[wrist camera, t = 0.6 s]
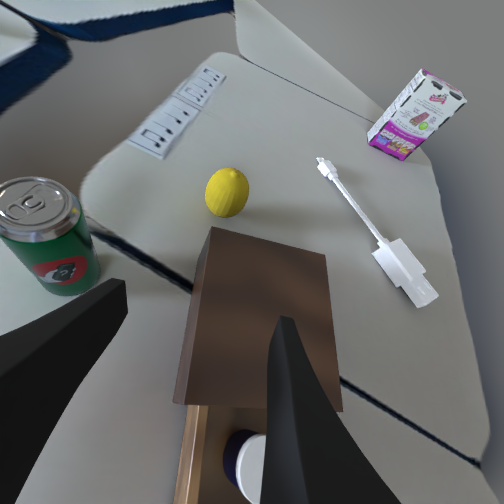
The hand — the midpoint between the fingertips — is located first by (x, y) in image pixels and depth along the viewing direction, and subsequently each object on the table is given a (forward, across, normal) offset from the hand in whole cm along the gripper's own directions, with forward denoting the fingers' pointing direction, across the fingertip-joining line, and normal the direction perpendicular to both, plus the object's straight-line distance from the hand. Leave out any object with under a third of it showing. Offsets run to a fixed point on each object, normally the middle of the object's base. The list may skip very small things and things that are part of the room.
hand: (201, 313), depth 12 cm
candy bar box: (+65, -30, -3) cm, 72 cm away
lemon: (+25, +4, +7) cm, 27 cm away
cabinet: (+12, -3, +14) cm, 19 cm away
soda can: (+11, +16, +10) cm, 22 cm away
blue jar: (+1, -5, +18) cm, 19 cm away
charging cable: (+36, -22, +8) cm, 43 cm away
